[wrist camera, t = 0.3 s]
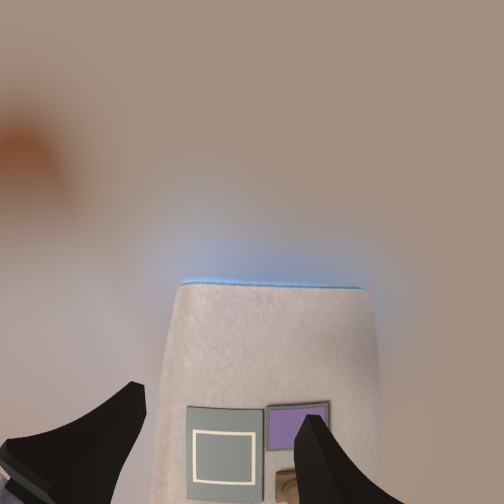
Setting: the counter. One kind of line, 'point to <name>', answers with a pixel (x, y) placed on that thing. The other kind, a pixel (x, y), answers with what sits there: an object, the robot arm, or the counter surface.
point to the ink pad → (289, 423)
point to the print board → (224, 455)
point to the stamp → (286, 487)
